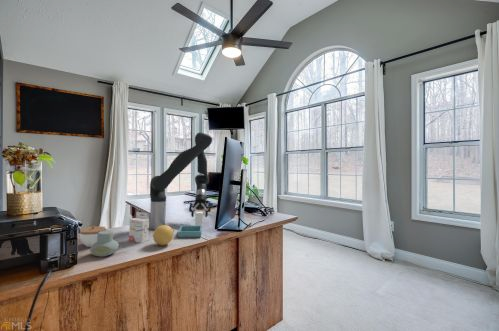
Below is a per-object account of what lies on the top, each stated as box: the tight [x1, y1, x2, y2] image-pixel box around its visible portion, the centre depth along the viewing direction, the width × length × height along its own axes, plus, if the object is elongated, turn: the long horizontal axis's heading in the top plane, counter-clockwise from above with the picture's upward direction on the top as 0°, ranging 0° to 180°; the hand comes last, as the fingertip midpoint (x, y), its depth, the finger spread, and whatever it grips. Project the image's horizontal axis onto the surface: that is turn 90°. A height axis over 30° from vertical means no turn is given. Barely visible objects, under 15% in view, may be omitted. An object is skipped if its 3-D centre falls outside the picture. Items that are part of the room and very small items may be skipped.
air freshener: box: [89, 229, 120, 258], centre depth 104 cm, size 11×8×10 cm
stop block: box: [194, 211, 204, 226], centre depth 153 cm, size 4×4×10 cm
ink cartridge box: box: [128, 211, 150, 244], centre depth 123 cm, size 9×5×15 cm, turn 74°
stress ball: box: [152, 224, 174, 246], centre depth 119 cm, size 10×10×10 cm
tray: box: [177, 225, 203, 239], centre depth 137 cm, size 13×13×4 cm
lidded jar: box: [79, 225, 107, 248], centre depth 115 cm, size 11×11×9 cm
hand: (199, 216), depth 154 cm, fingers open, 8 cm apart
